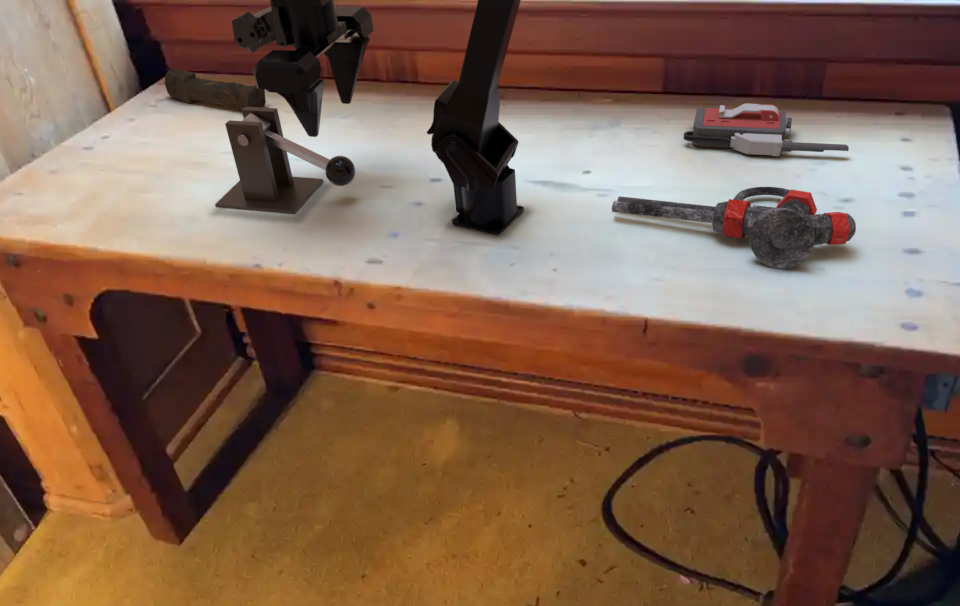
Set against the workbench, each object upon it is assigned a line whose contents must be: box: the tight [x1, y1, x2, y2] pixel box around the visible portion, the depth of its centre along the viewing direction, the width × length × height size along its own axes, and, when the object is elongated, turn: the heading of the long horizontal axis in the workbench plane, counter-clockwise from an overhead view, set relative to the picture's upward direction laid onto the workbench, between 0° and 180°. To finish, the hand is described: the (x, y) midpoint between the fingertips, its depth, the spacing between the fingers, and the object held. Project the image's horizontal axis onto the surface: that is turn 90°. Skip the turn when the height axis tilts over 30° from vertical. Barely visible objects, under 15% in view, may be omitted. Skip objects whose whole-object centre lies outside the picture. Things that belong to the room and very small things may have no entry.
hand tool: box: [164, 69, 267, 110], centre depth 140 cm, size 19×4×5 cm, turn 60°
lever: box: [241, 113, 356, 187], centre depth 109 cm, size 15×4×4 cm, turn 73°
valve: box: [611, 186, 857, 269], centre depth 100 cm, size 6×26×15 cm
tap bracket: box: [214, 107, 324, 215], centre depth 111 cm, size 11×8×11 cm
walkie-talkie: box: [683, 102, 850, 157], centre depth 115 cm, size 9×4×20 cm
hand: (330, 119), depth 105 cm, fingers open, 9 cm apart
